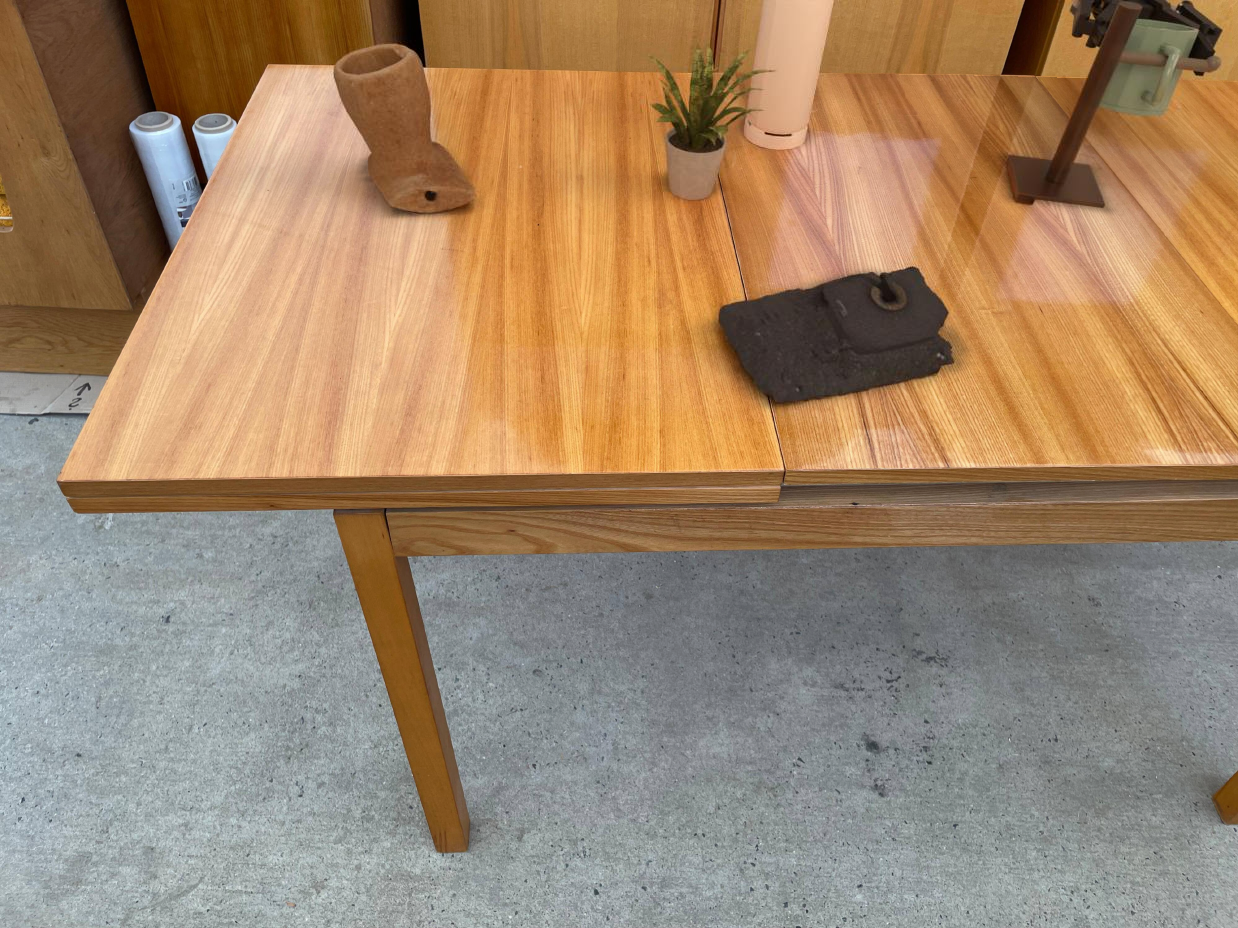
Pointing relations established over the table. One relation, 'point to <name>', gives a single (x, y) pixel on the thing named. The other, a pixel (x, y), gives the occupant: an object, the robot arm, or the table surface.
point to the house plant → (699, 125)
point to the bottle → (786, 71)
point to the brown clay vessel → (399, 129)
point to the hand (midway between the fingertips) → (1161, 58)
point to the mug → (1149, 69)
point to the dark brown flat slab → (840, 335)
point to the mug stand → (1088, 121)
